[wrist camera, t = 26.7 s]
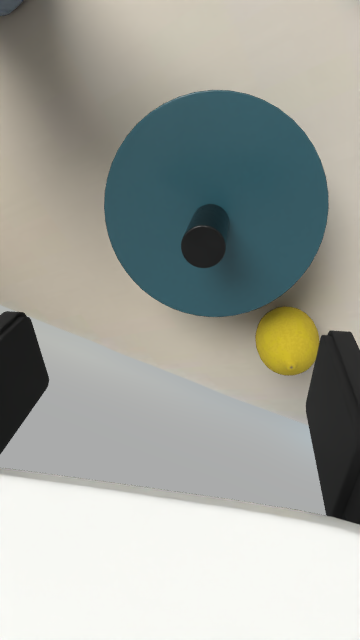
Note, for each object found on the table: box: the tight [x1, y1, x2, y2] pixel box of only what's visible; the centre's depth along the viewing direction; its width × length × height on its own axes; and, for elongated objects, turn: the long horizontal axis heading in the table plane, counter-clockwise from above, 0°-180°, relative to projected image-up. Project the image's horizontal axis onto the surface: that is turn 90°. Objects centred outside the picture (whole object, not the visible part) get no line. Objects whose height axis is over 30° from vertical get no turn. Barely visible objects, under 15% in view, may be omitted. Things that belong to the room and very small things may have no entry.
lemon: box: [256, 307, 319, 375], centre depth 31 cm, size 6×6×8 cm
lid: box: [104, 90, 328, 317], centre depth 22 cm, size 15×15×6 cm
